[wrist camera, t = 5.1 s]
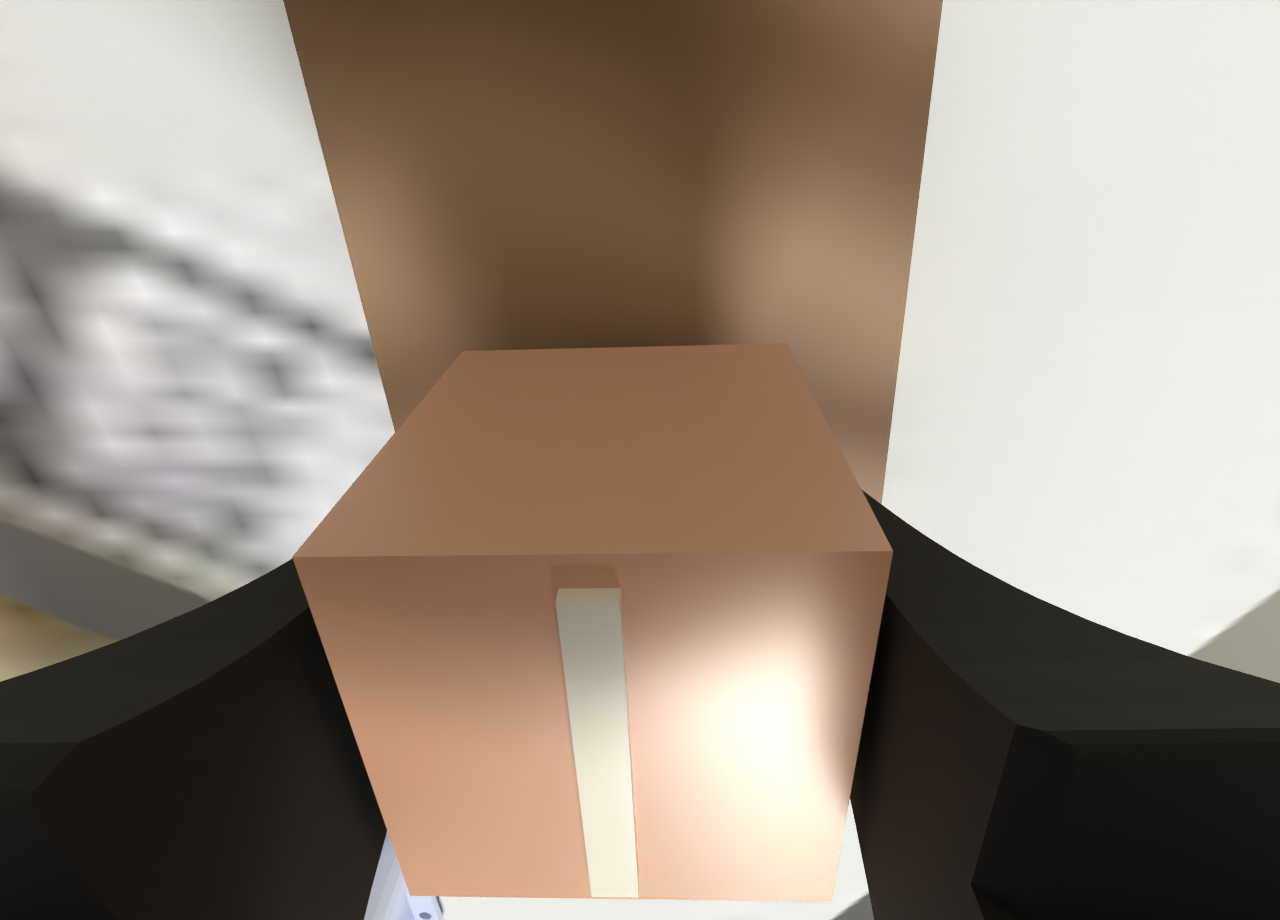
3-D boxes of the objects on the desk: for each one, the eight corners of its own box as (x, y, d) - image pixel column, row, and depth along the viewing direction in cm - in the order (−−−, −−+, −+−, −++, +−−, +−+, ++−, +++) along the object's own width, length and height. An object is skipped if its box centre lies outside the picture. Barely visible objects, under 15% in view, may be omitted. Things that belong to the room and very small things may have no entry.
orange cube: (462, 351, 12) (281, 569, 6) (785, 342, 11) (899, 564, 6) (504, 601, 14) (404, 911, 9) (767, 600, 14) (835, 917, 8)
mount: (844, 669, 21) (897, 833, 16) (479, 676, 22) (426, 835, 17) (931, -138, 12) (1107, -307, 7) (299, -79, 13) (75, -197, 8)
